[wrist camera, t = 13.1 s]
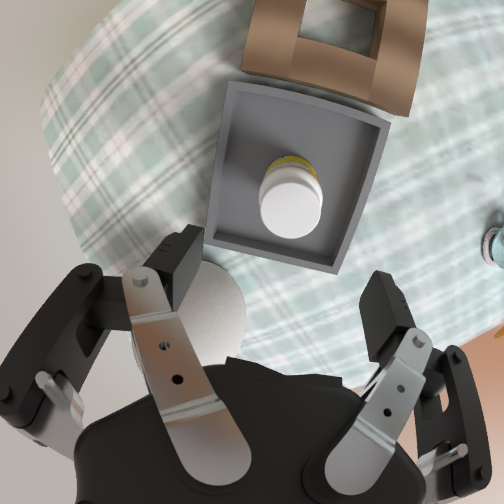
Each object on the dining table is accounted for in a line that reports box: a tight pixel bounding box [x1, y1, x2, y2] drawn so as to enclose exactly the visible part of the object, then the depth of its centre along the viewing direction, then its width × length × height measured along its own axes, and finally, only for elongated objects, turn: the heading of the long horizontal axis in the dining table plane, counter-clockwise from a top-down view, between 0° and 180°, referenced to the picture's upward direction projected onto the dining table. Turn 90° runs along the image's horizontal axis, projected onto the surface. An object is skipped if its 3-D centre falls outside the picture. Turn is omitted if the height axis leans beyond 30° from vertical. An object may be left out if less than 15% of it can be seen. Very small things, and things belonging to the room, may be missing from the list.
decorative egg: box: [131, 260, 247, 374], centre depth 27 cm, size 12×12×15 cm
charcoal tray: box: [204, 80, 391, 275], centre depth 24 cm, size 16×14×2 cm
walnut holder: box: [240, 0, 428, 117], centre depth 15 cm, size 14×14×4 cm
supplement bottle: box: [259, 154, 323, 239], centre depth 21 cm, size 5×5×8 cm
